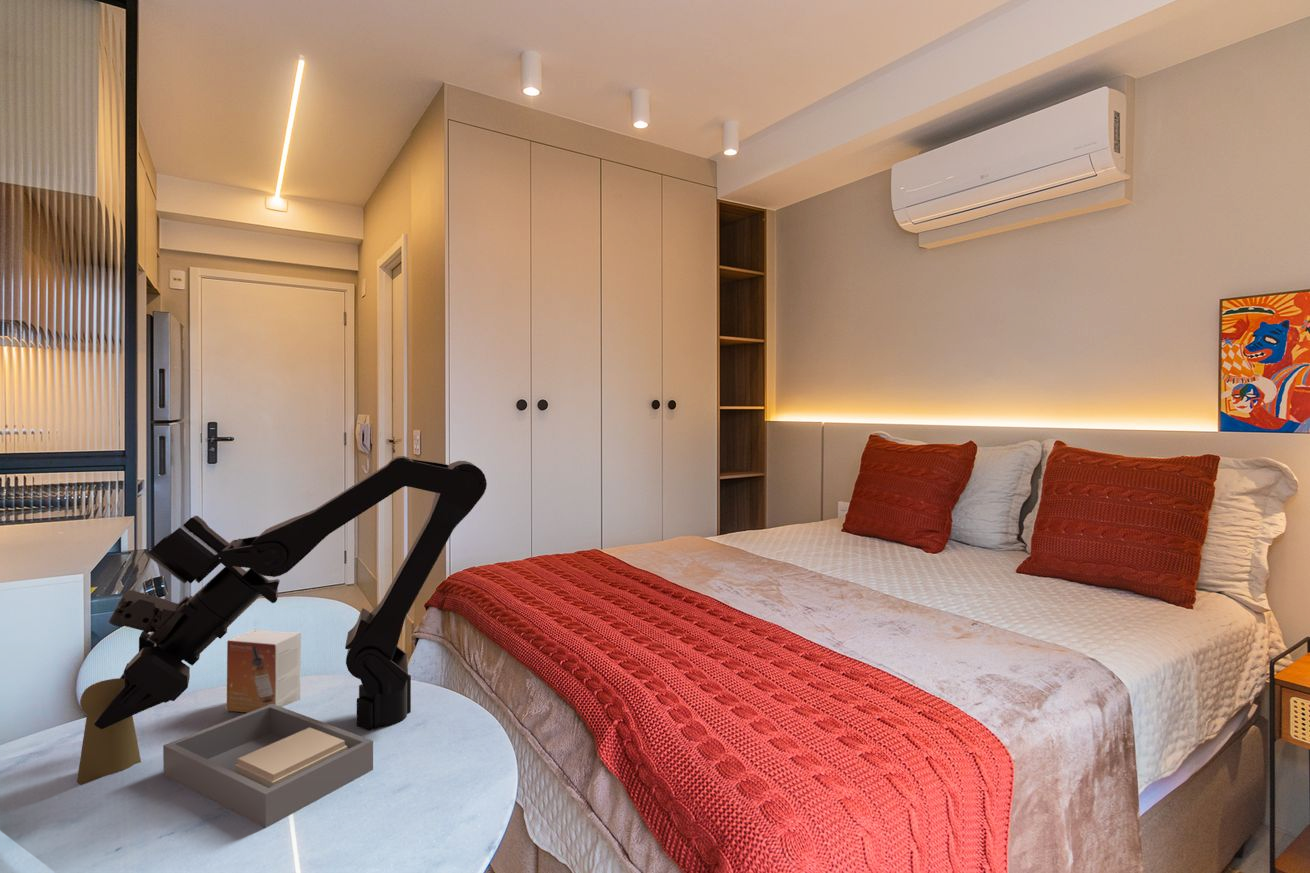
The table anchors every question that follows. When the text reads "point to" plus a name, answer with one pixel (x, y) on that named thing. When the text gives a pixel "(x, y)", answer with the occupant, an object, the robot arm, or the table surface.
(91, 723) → the cork
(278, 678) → the small box
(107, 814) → the table surface
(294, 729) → the tray
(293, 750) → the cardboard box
